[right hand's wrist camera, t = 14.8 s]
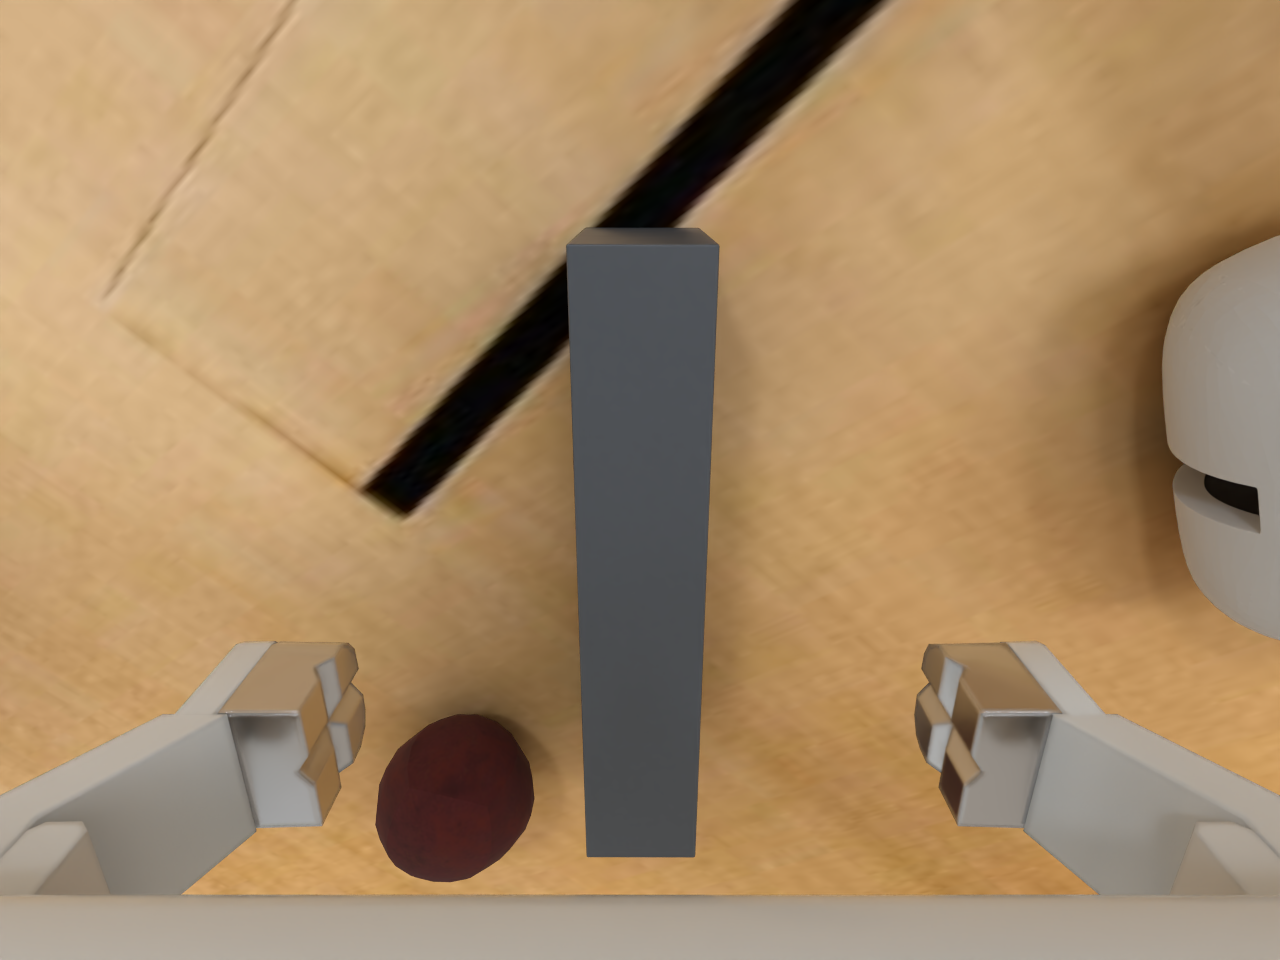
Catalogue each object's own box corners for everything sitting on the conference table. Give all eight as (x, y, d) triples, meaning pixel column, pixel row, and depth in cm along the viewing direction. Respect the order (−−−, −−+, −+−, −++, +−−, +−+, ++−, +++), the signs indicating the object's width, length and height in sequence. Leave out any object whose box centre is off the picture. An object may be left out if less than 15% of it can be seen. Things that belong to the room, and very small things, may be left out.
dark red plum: (394, 786, 41) (346, 903, 34) (412, 671, 38) (365, 774, 31) (527, 811, 41) (506, 930, 35) (555, 700, 38) (538, 807, 32)
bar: (584, 227, 30) (566, 244, 22) (699, 227, 30) (719, 244, 22) (596, 728, 39) (586, 857, 32) (684, 728, 39) (695, 858, 32)
